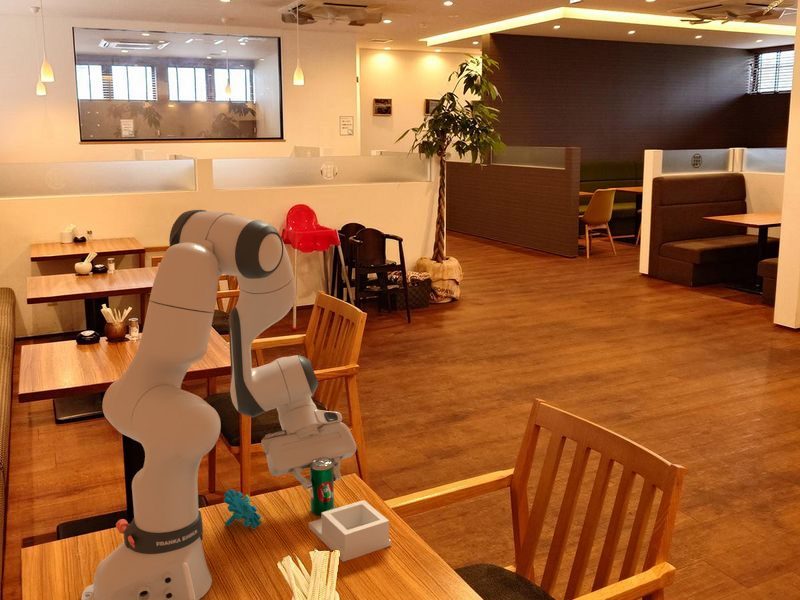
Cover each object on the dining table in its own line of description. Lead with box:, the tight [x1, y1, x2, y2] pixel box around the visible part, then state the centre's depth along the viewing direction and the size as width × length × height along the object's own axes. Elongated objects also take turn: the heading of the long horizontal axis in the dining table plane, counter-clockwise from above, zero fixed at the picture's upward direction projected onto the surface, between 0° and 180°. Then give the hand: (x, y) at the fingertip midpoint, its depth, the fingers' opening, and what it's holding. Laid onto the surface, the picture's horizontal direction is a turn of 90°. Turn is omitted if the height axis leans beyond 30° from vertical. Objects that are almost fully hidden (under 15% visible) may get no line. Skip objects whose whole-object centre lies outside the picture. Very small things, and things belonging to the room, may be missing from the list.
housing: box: [308, 499, 392, 563], centre depth 158 cm, size 11×15×6 cm
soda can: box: [309, 457, 335, 517], centre depth 167 cm, size 5×5×12 cm
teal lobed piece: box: [223, 488, 262, 530], centre depth 162 cm, size 11×6×10 cm
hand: (323, 483), depth 166 cm, fingers open, 6 cm apart
